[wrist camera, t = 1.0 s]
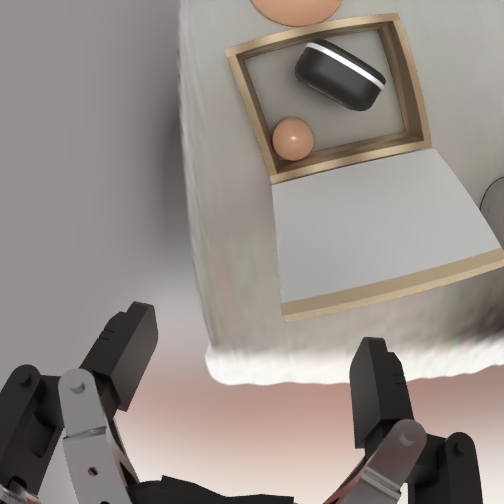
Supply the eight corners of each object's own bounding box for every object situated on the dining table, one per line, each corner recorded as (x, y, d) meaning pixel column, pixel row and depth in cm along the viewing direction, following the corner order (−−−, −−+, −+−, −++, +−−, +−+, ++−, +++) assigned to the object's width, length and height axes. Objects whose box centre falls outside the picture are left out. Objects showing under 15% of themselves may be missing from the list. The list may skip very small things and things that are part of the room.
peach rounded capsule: (304, 112, 31) (307, 116, 27) (314, 146, 33) (318, 154, 29) (269, 122, 32) (267, 127, 28) (280, 155, 34) (279, 164, 30)
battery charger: (288, 78, 29) (289, 73, 19) (304, 50, 27) (313, 31, 17) (344, 109, 30) (371, 121, 20) (361, 82, 28) (395, 81, 18)
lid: (507, 258, 16) (503, 266, 17) (434, 148, 25) (434, 156, 26) (281, 316, 20) (285, 322, 21) (271, 185, 29) (274, 193, 30)
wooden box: (381, 22, 24) (397, 12, 19) (412, 137, 30) (432, 147, 26) (233, 55, 28) (224, 49, 23) (274, 169, 34) (271, 184, 30)
